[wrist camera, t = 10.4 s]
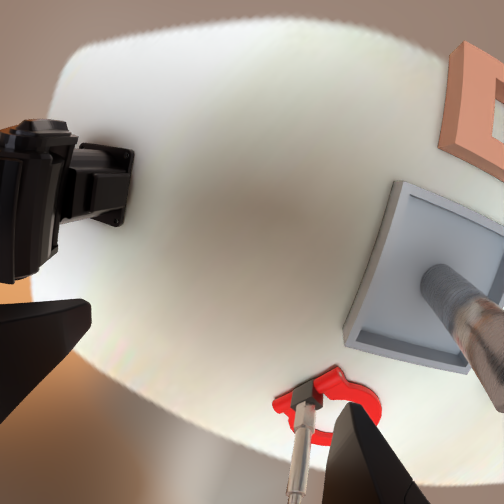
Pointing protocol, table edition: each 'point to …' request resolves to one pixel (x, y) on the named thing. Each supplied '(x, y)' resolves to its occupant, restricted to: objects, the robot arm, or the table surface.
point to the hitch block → (473, 109)
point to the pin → (469, 325)
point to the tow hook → (304, 414)
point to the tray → (411, 272)
